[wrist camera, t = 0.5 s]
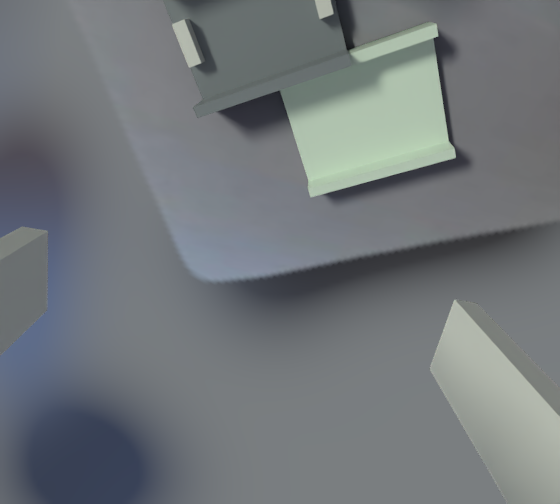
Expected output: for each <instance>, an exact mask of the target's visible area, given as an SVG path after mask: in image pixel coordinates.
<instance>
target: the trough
mask: <svg viewBox="0 0 560 504" xmlns="http://www.w3.org/2000/svg"><path fill="white" fill-rule="evenodd" d="M435 37H438V30H437V24H436V23H432V22H427V23H424V24H421V25H418V26H415V27H412V28H409V29H407V30H404V31H401V32H398V33H395V34H392V35H389V36H387V37H384V38H381V39H378V40H375V41H372V42H369V43H366V44H364V45H361V46H358V47H355V48H352V49H349V50H347V51H348V54H349V58H350V63H351V66H349V67H347V68H344V69H341V70H338V71H335V72H332V73H329V74H326V75H323V76H320V77H317V78H314V79H311V80H308V81H305V82H302V83H299V84H297V85H294V86H291V87H288V88H285V89H282V90H280V93H281V96H282V99H283V102H284V105H285V108H286V111H287V115H288V118H289V121H290V124H291V127H292V130H293V133H294V137H295V140H296V143H297V146H298V149H299V152H300V155H301V159H302V162H303V165H304V168H305V171H306V174H307V177H308V180H309V182H308V191H309V194H310V197H314V196H318V195H321V194H325V193H329V192H332V191H336V190H340V189H343V188H347V187H351V186H354V185H358V184H362V183H365V182H369V181H373V180H376V179H380V178H384V177H387V176H391V175H395V174H398V173H402V172H406V171H409V170H413V169H417V168H420V167H424V166H428V165H431V164H435V163H439V162H442V161H446V160H450V159H453V158H456V155H455V148H454V147H453V146H452V144H451V143H450V142H449V140H448V133H447V126H446V120H445V113H444V106H443V100H442V93H441V86H440V80H439V73H438V66H437V60H436V53H435V46H434V40H433V38H435Z"/></svg>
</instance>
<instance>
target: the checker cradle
mask: <svg viewBox="0 0 560 504" xmlns="http://www.w3.org/2000/svg"><path fill="white" fill-rule="evenodd" d="M163 1H164V4H165V6H166V9H167V11H168V14H169V16H170V19H171V21H172V26H173V29H174V31H175V34H176V36H177V39H178V41H179V44H180V46H181V49H182V51H183V54H184V56H185V59H186V61H187V64H188V66H189V68H191V71H192V73H193V76H194V78H195V81H196V83H197V86H198V88H199V91H200V93H201V96H202V98H203V100H201V101H200V102H199V103H198V104H197V105H195V106H194V107H193V109H194V111H195V114H196V116H197V118H199V117H202V116H205V115H208V114H211V113H214V112H217V111H220V110H223V109H226V108H229V107H232V106H235V105H238V104H241V103H244V102H246V101H249V100H252V99H255V98H258V97H261V96H264V95H267V94H270V93H273V92H276V91H279V90H282V89H285V88H288V87H291V86H294V85H297V84H299V83H302V82H305V81H308V80H311V79H314V78H317V77H320V76H323V75H326V74H329V73H332V72H335V71H338V70H341V69H344V68H347V67H349V66H351V63H350V58H349V54H348V51H347V49H346V45H345V40H344V36H343V32H342V28H341V24H340V19H339V15H338V11H337V7H336V3H335V0H163Z"/></svg>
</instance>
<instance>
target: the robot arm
mask: <svg viewBox="0 0 560 504" xmlns="http://www.w3.org/2000/svg"><path fill="white" fill-rule="evenodd" d="M47 268H48V231H45V230H39V229H33V228H27V227H21V228H19V229H17V230H15V231H13V232H11V233H9V234H8V235H6V236H4V237H2V238H0V355H1V354H2V353H3V352H4V351H6V350H7V349H8V348H9V347H10V346H11V345H12V344H13V343H14V342H15V341H16V340H17V339H18V338H19V337H20V336H21V335H22V334H23V333H24V332H25V331H26V330H27V329H28V328H29V327H30V326H31V325H32V324H33V323H34V322H35V321H37V320H38V319H39V318H40V317H41V316H42V315H43V314H44V313H45V312H46V311H47V271H48V269H47ZM430 370H431V372H432V374H433V376H434V377H435V379H436V381H437V383H438V384H439V386H440V388H441V390H442V391H443V393H444V395H445V396H446V398H447V400H448V402H449V403H450V405H451V407H452V408H453V410H454V412H455V414H456V416H457V417H458V419H459V421H460V422H461V424H462V426H463V428H464V429H465V431H466V433H467V435H468V436H469V438H470V440H471V441H472V443H473V445H474V447H475V448H476V450H477V452H478V454H479V455H480V457H481V459H482V461H483V462H484V464H485V466H486V467H487V469H488V471H489V473H490V474H491V476H492V478H493V480H494V481H495V483H496V485H497V486H498V488H499V490H500V492H501V493H502V495H503V497H504V498H505V500H506V502H507V504H560V387H558V385H557V384H556V383H554V381H553V380H552V379H551V378H550V377H548V375H547V374H546V373H545V372H544V371H543V370H542V369H541V368H540V367H539V366H538V365H537V364H536V363H535V362H534V361H533V360H532V359H531V358H530V357H529V356H528V355H527V354H526V353H525V352H524V351H523V350H522V349H521V348H520V347H519V346H518V345H517V344H516V343H515V342H514V341H513V340H512V339H511V338H510V337H509V336H508V335H507V334H506V333H505V332H504V331H503V329H502V328H501V327H500V326H499V325H497V324H496V323H495V321H494V320H493V319H491V317H490V316H489V315H488V314H487V313H486V312H485V311H484V310H483V309H482V308H481V307H480V306H479V305H478V304H477V303H474V302H468V301H462V300H456V299H455V300H454V302H453V305H452V308H451V311H450V314H449V316H448V319H447V322H446V324H445V328H444V330H443V333H442V336H441V338H440V341H439V344H438V347H437V349H436V352H435V355H434V358H433V361H432V363H431V366H430Z"/></svg>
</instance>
